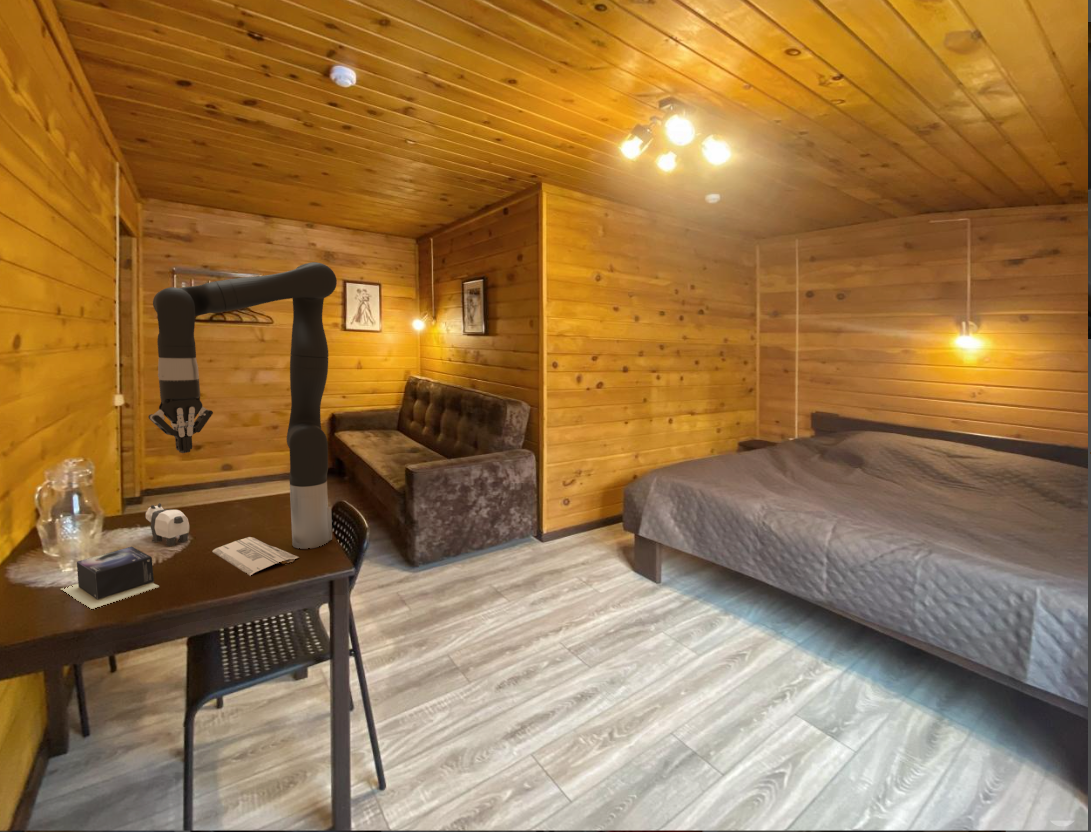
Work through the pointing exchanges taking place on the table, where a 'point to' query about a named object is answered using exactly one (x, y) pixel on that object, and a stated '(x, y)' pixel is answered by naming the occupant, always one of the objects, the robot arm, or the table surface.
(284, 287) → the robot arm
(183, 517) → the giant panda
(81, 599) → the blank cream paper sheet
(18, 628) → the table surface
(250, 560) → the newspaper
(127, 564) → the small box
